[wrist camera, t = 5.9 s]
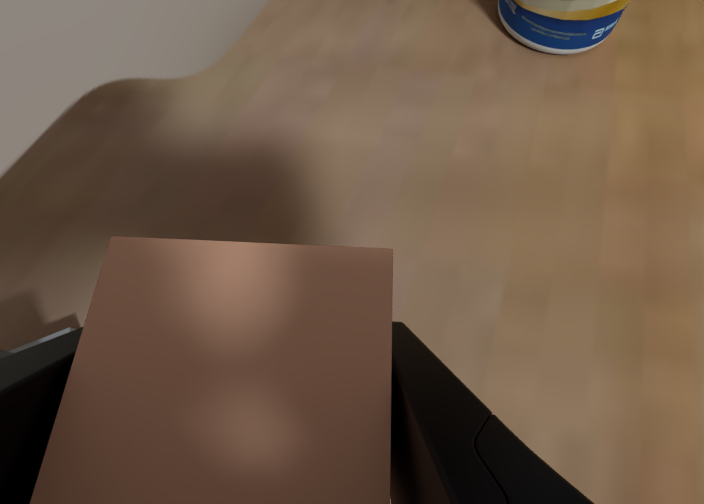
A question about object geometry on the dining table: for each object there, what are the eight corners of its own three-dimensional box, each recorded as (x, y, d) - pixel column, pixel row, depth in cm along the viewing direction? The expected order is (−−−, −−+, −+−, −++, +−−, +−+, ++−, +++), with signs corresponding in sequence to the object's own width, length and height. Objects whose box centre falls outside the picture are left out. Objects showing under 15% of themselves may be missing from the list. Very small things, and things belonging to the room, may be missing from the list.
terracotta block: (366, 495, 14) (388, 606, 5) (216, 486, 14) (5, 583, 5) (371, 343, 16) (393, 248, 7) (239, 336, 16) (111, 236, 7)
